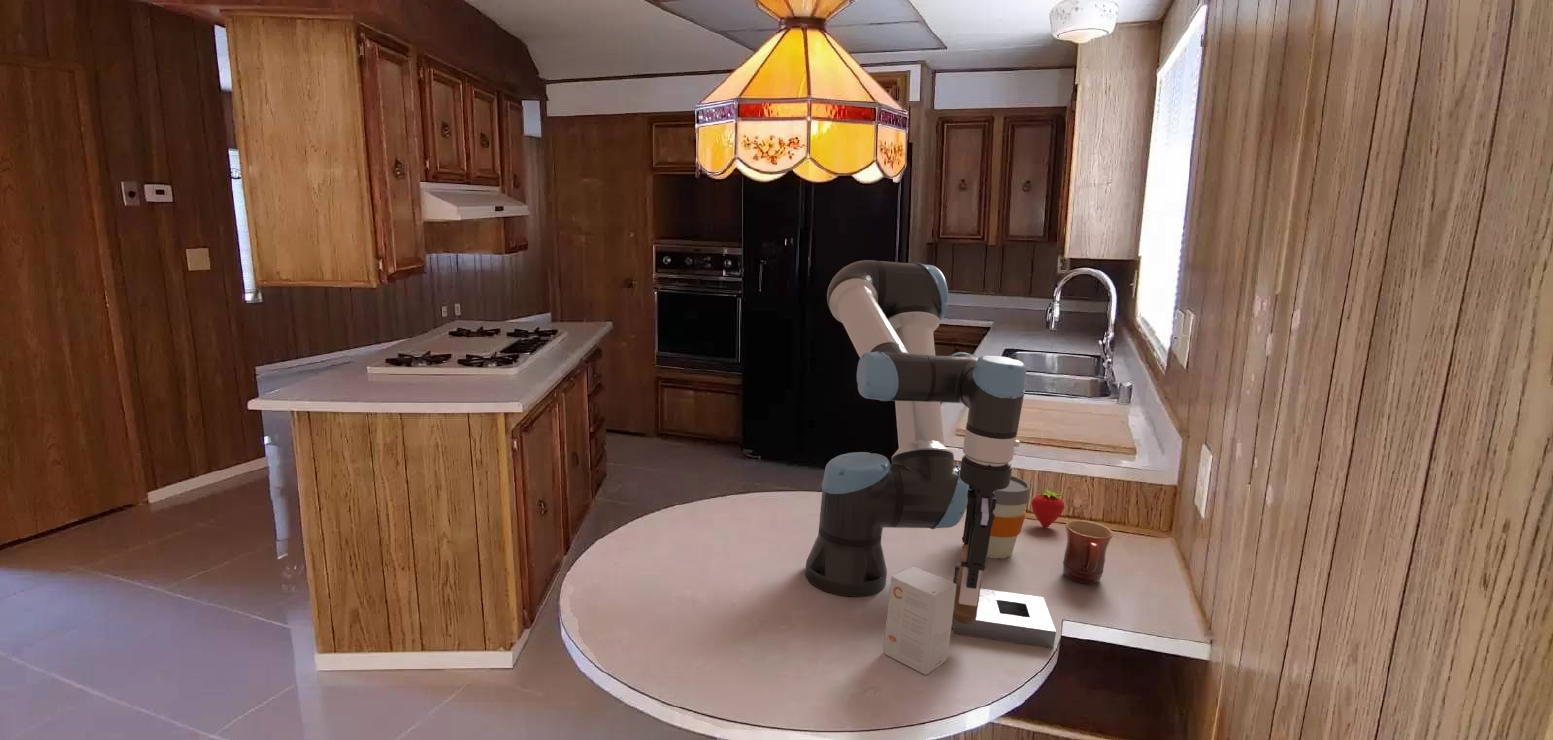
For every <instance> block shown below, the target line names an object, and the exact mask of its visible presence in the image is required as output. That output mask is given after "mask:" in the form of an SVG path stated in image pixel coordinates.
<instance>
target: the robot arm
mask: <svg viewBox="0 0 1553 740" xmlns="http://www.w3.org/2000/svg"><path fill="white" fill-rule="evenodd" d="M826 293H827V294H826V300H827V306H828V308H829V311H830V313H831V314H832V316H833V318H834V319H835V320H837V322H840V323H841V324H842V325H843V327H844V330H846V333H847V335H848V337H849V339H850V341H851V343H852V344H853V347H854V349H855V351H856V353H857V355H858V357H859V360H858V362H857V369H856V383H857V390H858V393H859V395H860V396H861V397H863V398H864V399H867V400H877V401H878V400H879V401H880V402H888V401H894V404H895V416H896V429H897V441H898V442H897V443H898V449H897V450H896V451H895V452H894V454H893V455H892V456H891V462H890V460H889V459H888V458H887V457H886V456H884V455H883V454H879V453H875V452H874V453H870V452H867V451H858V452H857V451H856V452H847V453H844V454H840V455H837V456H835V457H834V458H831V459H830V460H829V461H828V462H827V464H826V465H825V469H824V473H823V480H822V482H821V488H822V489H821V490H822V491H821V501H820V512H819V521H818V534H817V537H816V539H815V540H814V544H813V545H812V548H811V550H810V552H809V554H808V556H807V559H806V562H805V572H804V573H805V577H806V579H807V581H808V582H809V583H811V584H812V585H813V586H815V587H816V588H818V589H820V590H822V591H824V592H827V593H830V594H834V595H839V596H846V597H864V596H870V595H873V594H877V593H878V592H881V591H882V590H884V589H885V587H886V583H887V578H888V577H887V575H888V568H887V565H886V561H885V555H884V550H883V547H882V535H883V530H884V529H885V528H895V529H896V528H897V529H902V528H903V529H910V528H911V529H930V530H937V529H943V528H945V529H946V528H953V527H954V526H956V525H958V524H959V523H960V521H961V520H962V518H963V517H964V514H965V520H964V528H963V534H962V538H961V540H962V541H961V542H962V543H963V544H962V548H963V546H964V545H967V544H968V551H967V559H966V562H961V561H960V562H961V567H964V568H963V575H962V582H961V589H960V595H959V604H965V605H972V606H977V600H978V593H979V587H980V580H981V574H982V571H983V572H984V571H985V569H986V563H987V558H988V557H987V551H988V545H989V539H990V534H991V528H992V524H993V520H994V518H995V516H994V513H993V510H994V509H995V506H996V498H994V492H993V491H995V490H998V489H999V490H1001V489H1005V488H1006V487H1008V486H1009V483H1010V477H1011V476H1012V470H1013V465H1012V463H1011V461H1013V460H1014V454H1015V448H1019V446H1020V441H1019V440H1017V435H1018V430H1019V424H1020V421H1021V419H1020V418H1021V413H1022V408H1023V402H1024V396H1025V393H1026V378H1027V368H1026V365H1025V364H1024V362H1023V361H1021V360H1018V359H1013V358H1011V357H1007V356H1000V355H983V356H980V357H979V356H977V355H975V354H972V353H967V352H964V351H963V352H962V351H960V352H954V353H952V354H950V355H936V349H935V340H934V339H935V338H934V332H935V330H937V329H938V328H939V326H940V323H941V322H940V321H942V320H943V319H944V318H945V316H946V314H947V311H948V307H949V306H948V305H949V303H948V300H949V289H948V283H947V281H946V278H945V276H944V274H943V272H942V271H941V270H940V269H939V268H938V267H936V266H935V265H932V264H923V263H921V262H913V263H908V262H895V261H884V260H883V261H882V260H880V261H879V260H872V259H871V260H870V259H868V260H867V259H864V260H859V261H855V262H852V263H849V264H848V265H845V266H844V267H842V268H841V269H840V270H838V272H837V273H836V274H835V275H834V276H833V277H832V279H831V281H830V283H829V285H828V288H827V292H826ZM941 403H942V404H943V403H945V404H946V403H948V404H962V405H964V406H965V407H967V408H968V412H967V414H968V415H967V422H966V426H965V431H964V432H965V433H964V437H963V445H962V452H963V454H964V455H962V457H961V461H960V462H961V463H960V464H955V463H956V462H955V458H954V456H955V455H954V453H953V451H952V450H951V449H950V448H948V447H946V445H945V438H944V429H943V418H942V417H943V416H942V407H941ZM966 506H967V508H966ZM966 510H967V511H966ZM965 512H966V513H965Z"/></svg>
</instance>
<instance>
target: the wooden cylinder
mask: <svg viewBox="0 0 1553 740" xmlns="http://www.w3.org/2000/svg"><path fill="white" fill-rule="evenodd" d="M963 545H964V544H963ZM963 545H962V547H963V548H962V550H961V557H960V561H959V562H960V563H959V564H960V569H959V576H958V583H957V591H956V598H955V605H954V612H953V618H954V619H955V620H956V621H957V622H959V623H962V624H973V623H975V622H976V616H977V609H978V602H979V596H980V589H982V588H981V587H982V582H983V581H982V580H983V576H984V571H982V574H981V580H980V587H979V593H978V600H977V606H972V605H965V604H959V595H960V589H961V582H962V575H963V568H964V567H961V562H966V559H967V551H968V544H967V545H964V546H963Z"/></svg>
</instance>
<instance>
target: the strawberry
mask: <svg viewBox="0 0 1553 740" xmlns="http://www.w3.org/2000/svg"><path fill="white" fill-rule="evenodd" d="M1049 485H1050V487H1051V490H1052V491H1050V490H1048V489H1046V490H1045V492H1043V491H1042V492H1041V491H1040V492H1039V491H1038V492H1037V493H1038V495H1036V496H1034V497H1033V498H1032V501H1031V508H1032V512H1033V514H1034V516H1035V517H1036V519H1037V520H1038V522H1039V523H1040V524H1041V526H1042V527H1043V528H1049V527H1050V526H1051V525H1052V524H1053V523H1055V521H1057V519H1058V518H1059V517H1061V516H1062V513H1063V511H1064V510H1065V501H1064V500H1063V499H1062V498H1061V496H1063V494H1060V493H1055V492H1054V489H1053V487H1052V484H1049Z"/></svg>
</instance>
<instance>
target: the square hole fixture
mask: <svg viewBox="0 0 1553 740" xmlns="http://www.w3.org/2000/svg"><path fill="white" fill-rule="evenodd" d="M959 569H960V563H958V564H955V566H954V571H953V579H952V583H955V584H956V591H957V583H958V576H959ZM955 598H956V593H955ZM954 605H955V601H954ZM953 612H954V610H953ZM952 631H953V634H955V635H961V636H968V637H972V638H973V637H975V638H981V639H988V640H994V641H995V640H996V641H1002V642H1008V643H1015V644H1021V645H1027V646H1028V645H1029V646H1034V647H1035V646H1036V647H1041V648H1047V649H1054V646H1055V641H1056V634H1057V631H1056V628H1055V624H1054V623H1053V620H1052V617H1051V614H1050V612H1049V609H1048V607H1047V604H1046V600H1045V598H1044V596H1043V597H1042V596H1037V595H1036V596H1035V595H1030V594H1022V593H1015V592H1009V591H1008V592H1007V591H1001V590H993V589H986V588H981V589H980V596H979V602H978V609H977V616H976V622H975V623H973V624H962V623H959V622H957V621H956V620H955V619H954V618H953V617H952Z"/></svg>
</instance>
